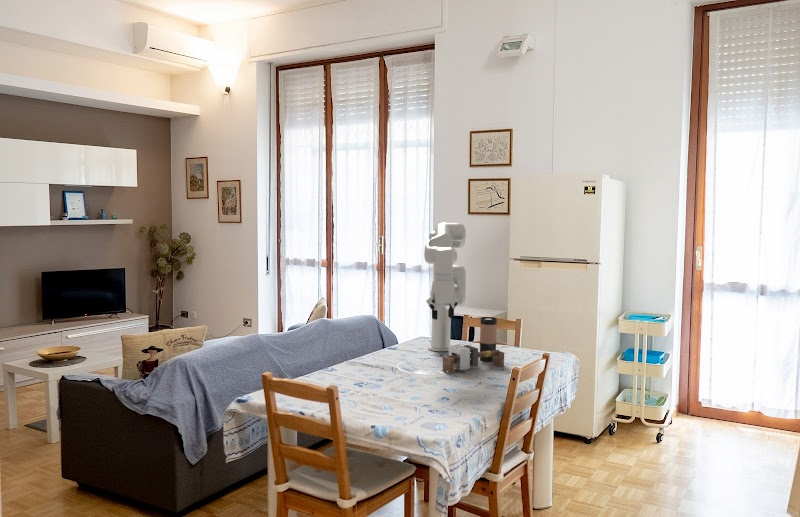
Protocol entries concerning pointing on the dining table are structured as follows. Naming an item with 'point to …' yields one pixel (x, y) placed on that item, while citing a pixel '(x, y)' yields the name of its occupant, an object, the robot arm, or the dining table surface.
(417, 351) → the dining table surface
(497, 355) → the dowel rail
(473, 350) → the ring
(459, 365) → the sleeve
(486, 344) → the travel mug
